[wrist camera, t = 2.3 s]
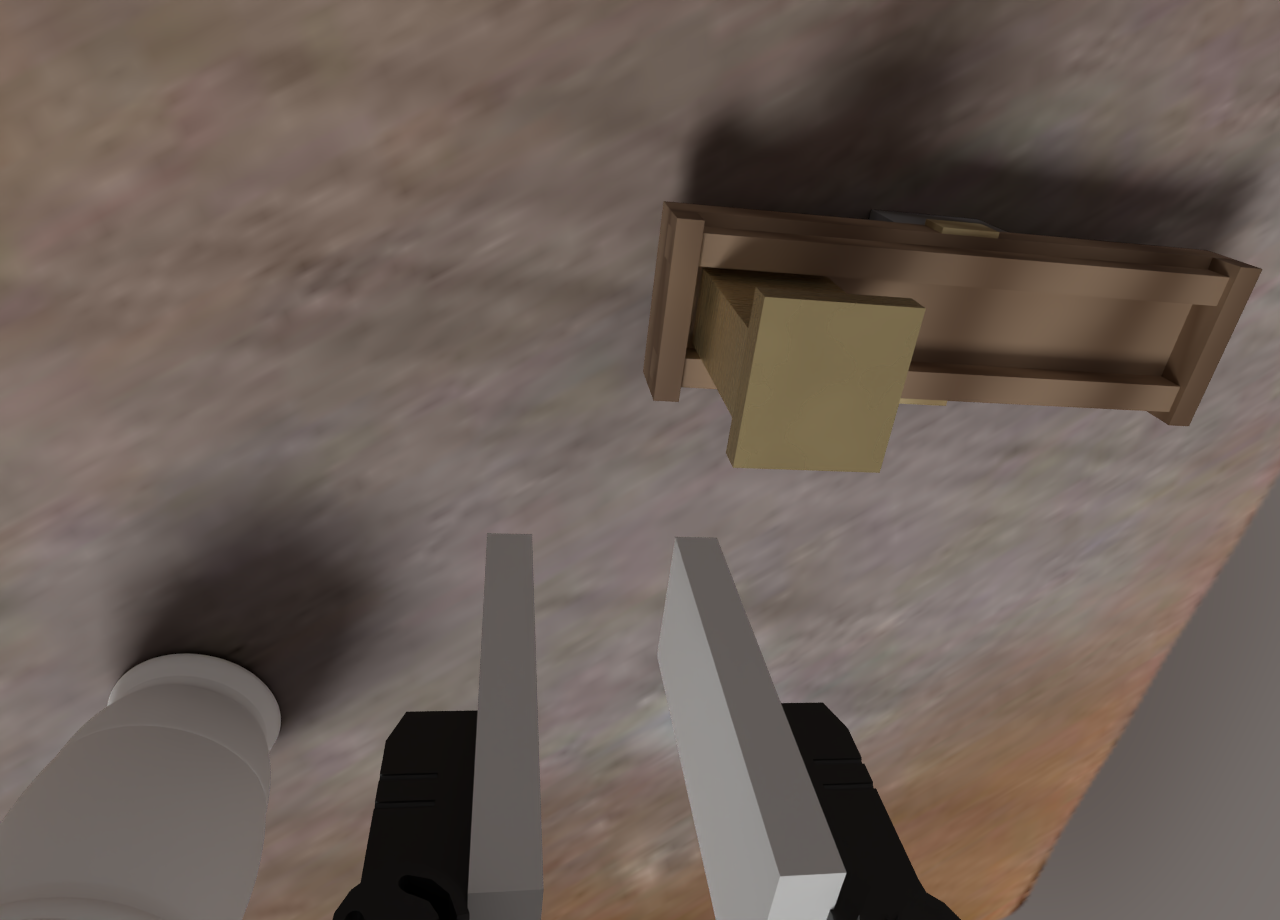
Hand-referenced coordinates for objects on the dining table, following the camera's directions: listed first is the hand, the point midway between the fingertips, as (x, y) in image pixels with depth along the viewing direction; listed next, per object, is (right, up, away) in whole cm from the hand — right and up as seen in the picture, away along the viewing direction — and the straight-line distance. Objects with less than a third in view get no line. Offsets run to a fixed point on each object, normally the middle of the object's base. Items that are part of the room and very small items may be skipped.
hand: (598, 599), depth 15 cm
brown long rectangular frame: (+13, +10, +22) cm, 28 cm away
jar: (-23, -11, +28) cm, 38 cm away
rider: (+5, +8, +17) cm, 20 cm away
